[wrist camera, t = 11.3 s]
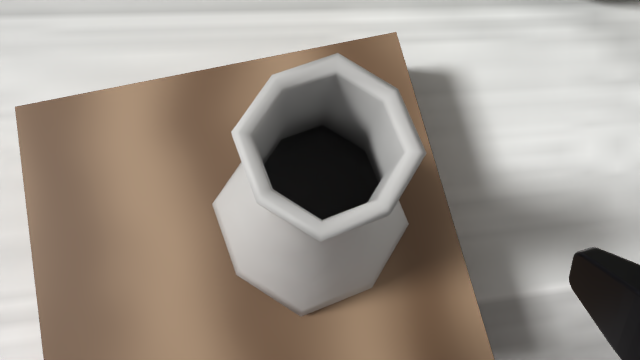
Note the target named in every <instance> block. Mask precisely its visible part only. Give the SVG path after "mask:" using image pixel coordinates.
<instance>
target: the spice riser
mask: <svg viewBox="0 0 640 360" xmlns="http://www.w3.org/2000/svg"><path fill="white" fill-rule="evenodd" d="M336 53H339V54H341V55H342V56H344V57H346V58H347V59H349V60H351V61H352V62H354V63H356V64H357V65H359V66H361V67H362V68H364V69H366V70H367V71H369V72H371V73H372V74H374V75H376V76H377V77H379V78H381V79H382V80H384V81H386V82H387V83H389V84H391V85H392V86H394V87H396V88H397V89H398V90H399V92H400V94H401V97H402V99H403V101H404V103H405V106H406V108H407V110H408V112H409V115H410V117H411V119H412V121H413V124H414V126H415V128H416V130H417V133H418V135H419V137H420V139H421V142H422V144H423V146H424V148H425V151H426V155H425V157H424V158H423V160H422V162H421V163H420V165H419V167H418V168H417V170H416V172H415V173H414V175H413V177H412V179H411V180H410V182H409V184H408V185H407V187H406V189H405V190H404V192H403V194H402V195H401V197H400V199H399V202H400V204H401V207H402V209H403V211H404V214H405V216H406V218H407V221H408V223H409V225H408V226H407V228H406V230H405V232H404V233H403V235H402V237H401V238H400V240H399V242H398V244H397V245H396V247H395V249H394V251H393V252H392V254H391V256H390V258H389V259H388V261H387V263H386V264H385V266H384V268H383V270H382V271H381V273H380V275H379V277H378V278H377V280H376V282H375V283H374V285H373V287H372V288H371V289H368V290H366V291H363V292H361V293H358V294H356V295H353V296H351V297H348V298H346V299H344V300H341V301H339V302H336V303H334V304H331V305H329V306H326V307H324V308H321V309H319V310H317V311H314V312H312V313H309V314H307V315H304V316H302V317H300V316H299V315H297V314H296V313H294V312H293V311H291V310H290V309H288V308H287V307H285V306H284V305H282V304H280V303H279V302H277V301H276V300H274V299H273V298H271V297H270V296H268V295H267V294H265V293H263V292H262V291H260V290H259V289H257V288H256V287H254V286H253V285H251V284H250V283H248V282H247V281H245V280H243V279H242V278H240V277H239V276H237V275H236V272H235V269H234V266H233V264H232V261H231V258H230V255H229V252H228V249H227V246H226V243H225V240H224V237H223V234H222V231H221V229H220V226H219V223H218V220H217V217H216V214H215V211H214V208H213V205H212V204H213V202H214V201H215V199H216V198H217V196H218V195H219V193H220V192H221V191H222V189H223V188H224V186H225V185H226V183H227V182H228V180H229V179H230V178H231V176H232V175H233V173H234V172H235V170H236V169H237V167H238V166H239V165H240V163H241V159H240V156H239V153H238V151H237V148H236V145H235V142H234V140H233V137H232V133H231V132H232V130H233V129H234V128H235V126H236V125H237V123H238V122H239V120H240V119H241V118H242V116H243V115H244V113H245V112H246V111H247V109H248V108H249V106H250V105H251V104H252V102H253V101H254V99H255V98H256V97H257V95H258V94H259V92H260V91H261V89H262V88H263V87H264V85H265V84H266V82H267V81H268V80H269V78H270V77H271V75H273V74H276V73H279V72H282V71H285V70H288V69H291V68H294V67H297V66H300V65H303V64H306V63H309V62H312V61H315V60H318V59H321V58H324V57H327V56H330V55H333V54H336ZM15 112H16V120H17V129H18V138H19V147H20V155H21V164H22V173H23V182H24V190H25V199H26V208H27V217H28V225H29V234H30V243H31V252H32V260H33V269H34V278H35V287H36V295H37V304H38V313H39V321H40V330H41V339H42V348H43V356H44V360H494V357H493V353H492V350H491V347H490V343H489V340H488V337H487V333H486V330H485V327H484V323H483V320H482V317H481V313H480V310H479V307H478V303H477V300H476V297H475V293H474V290H473V287H472V283H471V280H470V277H469V273H468V270H467V267H466V263H465V260H464V257H463V253H462V250H461V247H460V243H459V240H458V237H457V233H456V230H455V227H454V223H453V220H452V217H451V213H450V210H449V207H448V203H447V200H446V197H445V193H444V190H443V187H442V183H441V180H440V177H439V173H438V170H437V167H436V163H435V160H434V157H433V153H432V150H431V147H430V143H429V140H428V137H427V133H426V130H425V127H424V123H423V120H422V117H421V113H420V110H419V107H418V103H417V100H416V97H415V93H414V90H413V87H412V83H411V80H410V77H409V73H408V70H407V67H406V63H405V60H404V57H403V53H402V50H401V47H400V43H399V40H398V37H397V33H396V32H394V33H389V34H384V35H379V36H374V37H369V38H363V39H358V40H353V41H348V42H343V43H338V44H333V45H328V46H323V47H318V48H312V49H307V50H302V51H297V52H292V53H287V54H282V55H277V56H272V57H267V58H262V59H256V60H251V61H246V62H241V63H236V64H231V65H226V66H221V67H216V68H211V69H205V70H200V71H195V72H190V73H185V74H180V75H175V76H170V77H165V78H160V79H155V80H149V81H144V82H139V83H134V84H129V85H124V86H119V87H114V88H109V89H104V90H98V91H93V92H88V93H83V94H78V95H73V96H68V97H63V98H58V99H53V100H47V101H42V102H37V103H32V104H27V105H22V106H17V107H15Z"/></svg>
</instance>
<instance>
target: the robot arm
mask: <svg viewBox="0 0 640 360" xmlns="http://www.w3.org/2000/svg"><path fill="white" fill-rule="evenodd" d="M569 282H570V285H571V287H572V289H573V291H574V292H575V294H576V295H577V297H578V298H579V300H580V301H581V303H582V304H583V306H584V307H585V309H586V310H587V311H588V313H589V314H590V316H591V317H592V319H593V320H594V322H595V323H596V325H597V326H598V328H599V329H600V331H601V332H602V333H603V335H604V336H605V338H606V339H607V341H608V342H609V344H610V345H611V346H612V348H613V349H614V350H615V352H616V353H617V354H618V356H619V357H620V358H621V359H622V360H640V265H639V264H636V263H634V262H631V261H629V260H626V259H624V258H621V257H619V256H616V255H614V254H611V253H609V252H606V251H604V250H601V249H599V248H594V247H592V248H588V249H585V250H582V251H578V252H576V253H575V254H574V257H573V261H572V266H571V270H570V275H569Z"/></svg>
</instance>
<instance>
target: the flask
mask: <svg viewBox="0 0 640 360" xmlns="http://www.w3.org/2000/svg"><path fill="white" fill-rule="evenodd" d="M231 133H232V137H233V140H234V142H235V145H236V148H237V151H238V153H239V156H240V159H241V163H240V165H239V166H238V167H237V169H236V170H235V172H234V173H233V175H232V176H231V178H230V179H229V180H228V182H227V183H226V185H225V186H224V188H223V189H222V191H221V192H220V193H219V195H218V196H217V198H216V199H215V201H214V202H213V204H212V205H213V208H214V211H215V214H216V217H217V220H218V223H219V226H220V229H221V231H222V234H223V237H224V240H225V243H226V246H227V249H228V252H229V255H230V258H231V261H232V264H233V266H234V269H235V272H236V275H237V276H239V277H240V278H242V279H243V280H245V281H247V282H248V283H250V284H251V285H253V286H254V287H256V288H257V289H259V290H260V291H262V292H263V293H265V294H267V295H268V296H270V297H271V298H273V299H274V300H276V301H277V302H279V303H280V304H282V305H284V306H285V307H287V308H288V309H290V310H291V311H293V312H294V313H296V314H297V315H299V316H300V317H302V316H304V315H307V314H309V313H312V312H314V311H317V310H319V309H321V308H324V307H326V306H329V305H331V304H334V303H336V302H339V301H341V300H344V299H346V298H348V297H351V296H353V295H356V294H358V293H361V292H363V291H366V290H368V289H371V288H372V287H373V285H374V283H375V282H376V280H377V278H378V277H379V275H380V273H381V271H382V270H383V268H384V266H385V264H386V263H387V261H388V259H389V258H390V256H391V254H392V252H393V251H394V249H395V247H396V245H397V244H398V242H399V240H400V238H401V237H402V235H403V233H404V232H405V230H406V228H407V226H408V225H409V223H408V221H407V218H406V216H405V214H404V211H403V209H402V207H401V204H400V202H399V199H400V197H401V195H402V194H403V192H404V190H405V189H406V187H407V185H408V184H409V182H410V180H411V179H412V177H413V175H414V173H415V172H416V170H417V168H418V167H419V165H420V163H421V162H422V160H423V158H424V157H425V155H426V151H425V148H424V146H423V144H422V142H421V139H420V137H419V135H418V133H417V130H416V128H415V126H414V124H413V121H412V119H411V117H410V115H409V112H408V110H407V108H406V106H405V103H404V101H403V99H402V97H401V94H400V92H399V90H398V89H397V88H396V87H394V86H392V85H391V84H389V83H387V82H386V81H384V80H382V79H381V78H379V77H377V76H376V75H374V74H372V73H371V72H369V71H367V70H366V69H364V68H362V67H361V66H359V65H357V64H356V63H354V62H352V61H351V60H349V59H347V58H346V57H344V56H342V55H341V54H339V53H336V54H333V55H330V56H327V57H324V58H321V59H318V60H315V61H312V62H309V63H306V64H303V65H300V66H297V67H294V68H291V69H288V70H285V71H282V72H279V73H276V74H273V75H271V77H270V78H269V80H268V81H267V82H266V84H265V85H264V87H263V88H262V89H261V91H260V92H259V94H258V95H257V97H256V98H255V99H254V101H253V102H252V104H251V105H250V106H249V108H248V109H247V111H246V112H245V113H244V115H243V116H242V118H241V119H240V120H239V122H238V123H237V125H236V126H235V128H234V129H233V130H232V132H231Z"/></svg>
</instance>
